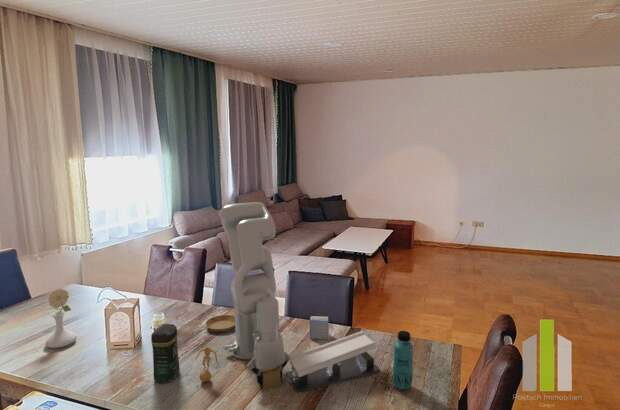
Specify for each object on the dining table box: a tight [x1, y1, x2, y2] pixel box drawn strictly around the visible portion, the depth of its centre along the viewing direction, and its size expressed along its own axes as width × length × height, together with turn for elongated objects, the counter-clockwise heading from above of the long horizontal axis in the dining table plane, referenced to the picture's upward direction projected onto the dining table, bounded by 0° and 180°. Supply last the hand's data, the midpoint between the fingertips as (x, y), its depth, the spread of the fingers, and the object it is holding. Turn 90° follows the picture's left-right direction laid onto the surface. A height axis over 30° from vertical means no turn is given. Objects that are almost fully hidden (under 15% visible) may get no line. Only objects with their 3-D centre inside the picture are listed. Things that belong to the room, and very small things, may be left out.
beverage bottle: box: [392, 330, 414, 390], centre depth 135 cm, size 6×7×20 cm
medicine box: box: [309, 315, 330, 340], centre depth 172 cm, size 8×4×9 cm, turn 84°
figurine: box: [195, 346, 218, 383], centre depth 142 cm, size 8×6×12 cm
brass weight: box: [261, 366, 282, 391], centre depth 139 cm, size 6×6×6 cm
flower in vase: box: [45, 287, 78, 349], centre depth 168 cm, size 13×11×25 cm
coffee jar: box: [150, 323, 180, 383], centre depth 144 cm, size 10×8×19 cm
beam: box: [289, 330, 377, 377], centre depth 144 cm, size 30×10×2 cm, turn 111°
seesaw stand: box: [285, 351, 381, 394], centre depth 145 cm, size 32×12×7 cm, turn 112°
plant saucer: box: [205, 314, 235, 333], centre depth 184 cm, size 15×15×3 cm
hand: (269, 381), depth 140 cm, fingers closed on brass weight, 6 cm apart
